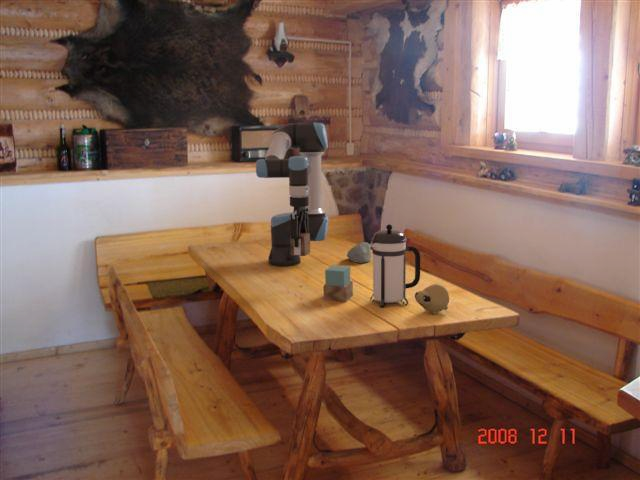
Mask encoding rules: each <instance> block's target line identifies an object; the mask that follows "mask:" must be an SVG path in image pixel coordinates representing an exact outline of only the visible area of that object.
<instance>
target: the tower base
mask: <svg viewBox="0 0 640 480" xmlns="http://www.w3.org/2000/svg"><path fill="white" fill-rule="evenodd" d="M353 287H354V282H353V281H352V280H350V282H349V283H348V284H347V285H346V286H344V287H341V286H330V285H326V283H325V284H324V285H323V301H326V302H327V301H328V302H336V303H337V302H340V303H347V302H348V301H349V300H350V299H351V298H352V297H353V296H354V294H353V293H354V290H353V289H354V288H353Z"/></svg>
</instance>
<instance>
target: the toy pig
mask: <svg viewBox="0 0 640 480" xmlns="http://www.w3.org/2000/svg"><path fill="white" fill-rule="evenodd" d="M414 297H415V298H414V299H415V301H416V302H417V304H419V305H420V306H421V307H422V308H423V309H424V310H425V312H428V313H432V315H433V316H437V315H438V313H439V312H442V311H444V310H445V311H447V310H448V309H449V307H448V305H449V301H450V294H449V292H448V290H447V288H446V287H445V286H444V285H442V284H441V283H433V284H432V285H429V286H427V287H426V288H424V289H422V290H419V291H417V292H415V293H414Z"/></svg>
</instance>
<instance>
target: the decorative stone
mask: <svg viewBox="0 0 640 480" xmlns="http://www.w3.org/2000/svg"><path fill="white" fill-rule="evenodd" d="M371 249H372V247H371V248H370V243H369V242H365V241H364V242H359V243H357V244H356V245H354V246H353V247H352V248H351V249H350V250H348V251H347V253H346V257H347V258H348V260H349V261H351V262H353V263H358V264H365V263H369V262H371V260H372V252H371V251H372V250H371Z"/></svg>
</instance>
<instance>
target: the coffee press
mask: <svg viewBox="0 0 640 480" xmlns="http://www.w3.org/2000/svg"><path fill="white" fill-rule="evenodd" d="M385 228H386V229H384V230H379V231H377V232H375V233H374V234H373V237H371V242H370V243H369V245H370V248H371V249H372V250H371V251H372V252H371V254H372V267H373V268H372V285H373V286H372V288H373V289H372V295H371V297H370V301H372V302H373V301H378V302H380V303H379V307H380V308H382V307H383V308H382V309H384V308H385V306H386V305H387V304H389V303H392V304H393V303H398V302H401V303H402V304H403V305H404V306H407V305H408V304H409V301H408V299H407V297H406V289H412V288H414V287H416V286H417V285H418V284H419V282H420V279H421V254H420V252H419V249H418V248H416V247H414V246H411V245H408V246H406V242H407V240H408V239H407V237H406V235H405V234H404V232H402V231H399V230H397V229H396V230H394V229H393V226H392V224H389V223H388V224H387V225H386V227H385ZM407 252H412V253H413V254H414V256H415V257H414V258H415V259H414V264H415V265H414V279H413V281H411V282H410V283H409V282H408V283H406V269H407V268H406V261H407V260H406V259H407V258H406V254H407ZM405 304H406V305H405Z"/></svg>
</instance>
